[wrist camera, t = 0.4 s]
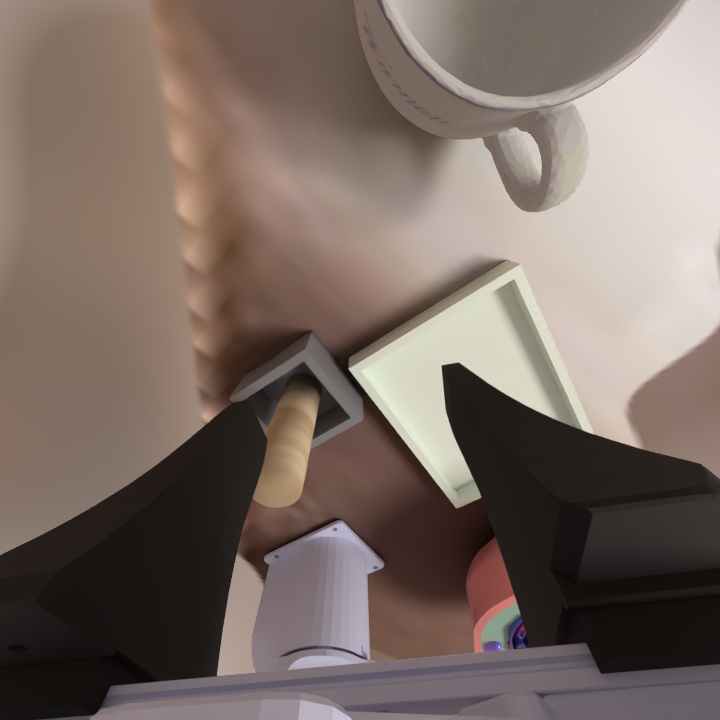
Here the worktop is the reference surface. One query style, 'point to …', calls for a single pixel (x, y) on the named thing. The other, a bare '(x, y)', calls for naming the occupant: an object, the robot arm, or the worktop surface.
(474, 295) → the tray
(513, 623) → the cell model
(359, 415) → the grey square box
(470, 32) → the teacup
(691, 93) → the worktop surface
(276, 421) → the dowel
